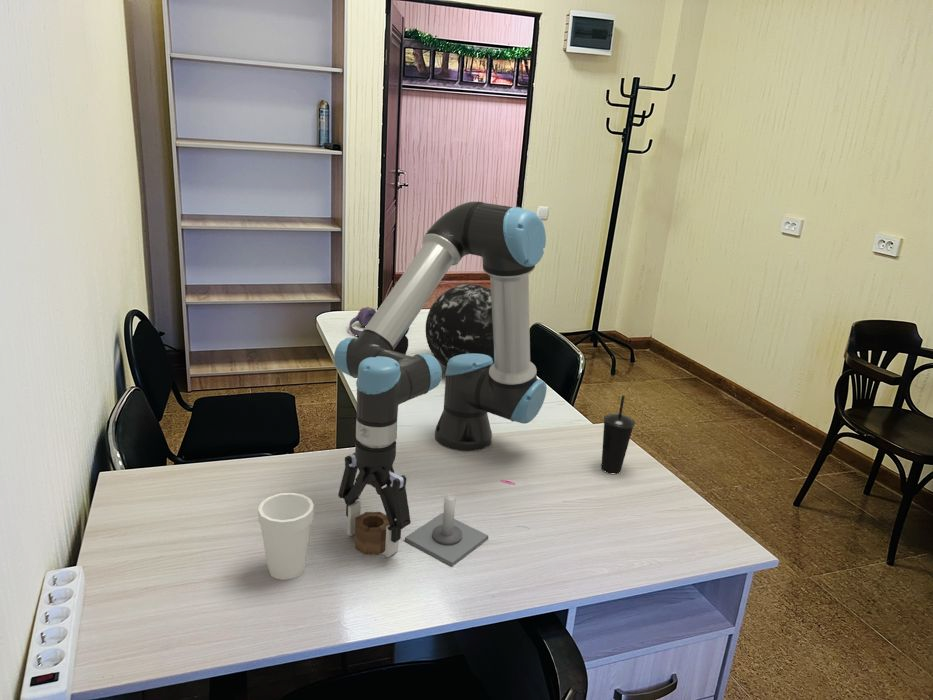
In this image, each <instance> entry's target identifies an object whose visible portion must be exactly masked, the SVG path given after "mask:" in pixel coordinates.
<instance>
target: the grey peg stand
mask: <svg viewBox="0 0 933 700" xmlns="http://www.w3.org/2000/svg"><path fill="white" fill-rule="evenodd" d="M456 500H457V497H456V496H455V495H453V494H447V495H445V496H444V500H443V501H444V503H443V512H442V513H440V514H438V515H437V516H435V517H434V518H432V519H431V520H429V521H428V522H426V523H425V524H423V525H421V526H419V527H418V528H417V529H415V530H414V531H412V532H411V533H409V534H408V535H406V536H405V537H404V542H407V543H408V544H410V545H412V547H413V546H414V547H416V548H417V549H418V550H421V551H423V552H424V553H427V554H428V555H430V556H432V557H434V558H435V559H437V560H440V561H441V562H443V563H445V564H447V565H449V566H450V567H453V566H455V565H456V564H458V563H459V562H461V560H462V559H464V558H465V557H466V556H468V555H469V554H471V553H472V552H473V551H475V550H476V549H478V547H480V546H481V545H483V543H485V542H486V541H487V540H489V535H488V534H486V533H484V532H482V531H481V530H478V529H476V528H474V527H472V526H470V525H468V524H466V523H465V522H461V521H460V520H458V519H456V518H455V515H456V514H455V512H456Z"/></svg>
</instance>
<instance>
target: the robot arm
mask: <svg viewBox="0 0 933 700" xmlns="http://www.w3.org/2000/svg"><path fill="white" fill-rule="evenodd" d="M546 237H547V235H546V228H545V225H544V222H543V220H542V218H541V217H540V216H539V215H538V214H537V213H536V212H535V211H533V210H529V209H525V208H522V207H520V206H508V205H501V204H494V203H488V202H482V201H468V202H465V203H462V204H459V205H457V206H455V207H454V208H451V209H450V210H448V211H447V212H445V213H444V214H443V215H442V216H441V217H440V218H438V219H437V220H436V221H435V222H434V223H433V224H432V225H431V227H429V229H428V230H427V231H426V233H425V235H424V236H423V237H422V247H421V248H420V249H419V251H418V252H417V253H416V255H415V256H414V258H413V259H412V261H411V262H410V264H409V265H408V266H407V268H406V269H405V270H404V272H403V273H402V275H401V276H400V277H399V279H398V281H397V282H396V283H395V285H394V286H393V287H392V289H391V290H390V291H389V293H388V295H387V296H386V298H385V299H384V300H383V302H382V303H381V304H380V306H379V307H378V308H377V310H375V311H376V313H375V314H374V316H373V317H372V318H371V320H370V321H369V323H368V324H367V325H366V327H364V328H363V330H361V331H362V333H361V334H360V335H359V337H346V338H344V339H343V340H341V341H339V343H338V344H337V345H336V348H335V351H334V354H333V362H334V365H335V367H336V368H337V370H339V371H340V372H341V373H343V374H346V375H347V376H349V377H352V378H353V379H356V382H355V384H356V418H355V419H356V420H355V421H356V423H355V438H356V440H355V445H354V446H355V450H354V452H353V453H352V454H349V455H346V456H345V457H344V471H343V473H342V474H343V475H342V478H341V482H340V486H339V490H338V493H337V494H338V498H339V499H343V500H344V504H345V505H346V507H345V508H346V509H345V516H346V517H347V530H346V531H347V533H346V534H347V536H349V537H351V536H353V535H355V519H356V517H358V516H360V515H361V511H362V510H361V505H362V502H361V501H360V500H359V499H360V497H361V494H362V493H363V491H364V489H365V488H366V486H367V485H369V486H372V487H373V488H375V491H376V494H377V495H379V497H380V501H381V503H382V505H383V509H384V512H385V515H387V518H388V521H389V524H390V525H388V526H386V545H385V551H384V556H385V557H387V558H390V557H391V556H392V555H394V554H395V553H397V552H398V547H399V540H401V536H402V529H404V528H406V527H407V526H409V525H410V524H411V516H410V510H409V504H408V503H409V501H408V496H407V491H406V490H407V488H406V485H407V476H406V475H405V474H404V475H403V474H402V475H398V474H397V473H395V469H394V466H393V465H394V462H395V460H396V456H397V455H396V454H397V441H396V440H397V439H398V438H397V437H398V414H399V413H398V412H399V405H401V404H403V403H407V401H410V400H413V399H415V398H417V397H420V396H422V395H426V394H428V393H429V392H430V391H432V390H433V389H436V388H437V387H438V386H439V385H440V384H441V381H442V377H443V375H442V374H443V372H442V371H443V369H442V367H441V363H440V362H439V361H438V360H437V359H436V358H435V356H434V355H433V354H430V353H426V352H425V353H418V354H415V355H413V356H411V355H407V354H401V353H398V352H395V351H393V350H394V349H395V347H396V346H397V344H398V343H399V341H400V340H401V338H402V337H403V335H404V334H405V333H406V331H407V330H408V328H409V329H410V327H411V325H412V324H413V322H414V321H415V320H416V318H417V316H418V315H419V313H420V312H421V310H422V309H423V307H424V306H425V305H426V303H427V301H429V299H430V297H431V296H432V295H433V293H434V291H435V290H436V289H437V287H438V286H439V284H440V283H441V281H442V279H443V278H445V275H446V274H447V273H448V271H449V270H450V267H452V266H456V265H458V264H459V263H460V261H461V260H462V258H463V257H466V256H467V255H472V256H473V255H474V256H477V257H481V259H482V269H483V272H484V273H486V274H487V275H488V276H489V277H490V279H489V280H490V289H491V302H492V321H493V341H494V360H495V363H494V364H493V361H492V358H491V357H490V356H488V355H485V354H474V353H472V354H461V355H457V356H454V357H452V358H451V359H450V360H449V361H448V363H447V367H446V370H445V374H444V375H445V381H444V382H445V383H444V384H445V385H444V396H443V410H442V412H441V415H440V418H439V420H438V422H437V424H436V427H435V429H434V430H435V431H434V438H435V441H436V442H437V444H439V445H441V446H443V447H445V448H447V449H451V450H454V451H460V452H474V451H475V452H476V451H480V450H483V449H486V448H487V447H489V446H490V444H491V443H492V439H493V438H492V436H493V431H492V428H491V424H490V420H489V416H488V413H490V414H492V415H495V416H497V417H500V418H503V419H506V420H509V421H511V422H516V423H519V424H523V425H524V424H529V423H530V422H532V421H533V420H534V419H535V418H536V417H537V415H538V414H539V412H540V411H541V409H542V407H543V405H544V402H545V398H546V394H547V384H546V382H545V381H544V380H542V379H541V378H537V375H538V374H537V371H538V370H537V367H536V365H535V364H534V363H533V362H532V361H531V341H530V340H531V339H530V338H531V336H530V335H531V333H530V331H531V330H530V293H529V292H530V290H529V289H530V288H529V287H530V286H529V282H530V281H529V280H530V279H529V275H530V274H531V273H532V272H533V271H534V270H535V269H536V265H537V264H538V263H539V262H540V261H541V260H542V258H543V256H544V253H545V252H544V249H545V248H546V244H547V242H546V241H547V239H546ZM408 331H409V330H408ZM357 472H358V474H357Z"/></svg>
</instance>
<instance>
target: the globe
mask: <svg viewBox="0 0 933 700" xmlns="http://www.w3.org/2000/svg"><path fill="white" fill-rule="evenodd" d="M425 338H426V342H427V345H428V347H429V350H430V352H431V354H432V356H433V357H435V358H436V359H437V361H438V362H439V364H440V365H442V366H444V367H445V368H447V363H448V361H449V360H450V359H451V358H452V357H454V356H457V355H461V354H472V353H474V354H485V355H488V356H490V357H491V358H492V361H493V364H494V363H495V360H494V341H493V321H492V302H491V288H489V287H486V286H484V285H480V284H473V283H467V284H460V285H457V286H453V287H451V288H449V289H448V290H445V291H444V292H443V293H442V294H441V295H440V296H438V297H437V298H436V300H435V301H434V302H433V304H432V305H431V307H430V309H429V311H428V314H427V317H426V321H425Z"/></svg>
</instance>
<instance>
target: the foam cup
mask: <svg viewBox="0 0 933 700" xmlns="http://www.w3.org/2000/svg"><path fill="white" fill-rule="evenodd" d="M314 509H315V505H314V502H313V500H312V499H311V497H308V496H306V495H304V494H302V493H296V492H285V493H284V492H283V493H277V494H274V495H271V496H269V497H266V499H264V500H263V501H261V502H260V504H259V506H258V509H257V514H258V515H257V516H258V517H257V519H258V523H259V525H260V530H261V536H262V543H263V547H264V551H265V553H264V554H265V558H266V563H267V568H268V572H269V574H270V576H271V577H272V578H274V579H276V580H281V581H287V580H294V579H295V578H298V577H300V576H301V574H303V573H304V572H305V567H306V562H307V556H308V555H307V554H308V549H309V542H310V534H311V528H312V523H313V519H314V517H315V514H314V513H315V510H314Z"/></svg>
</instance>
